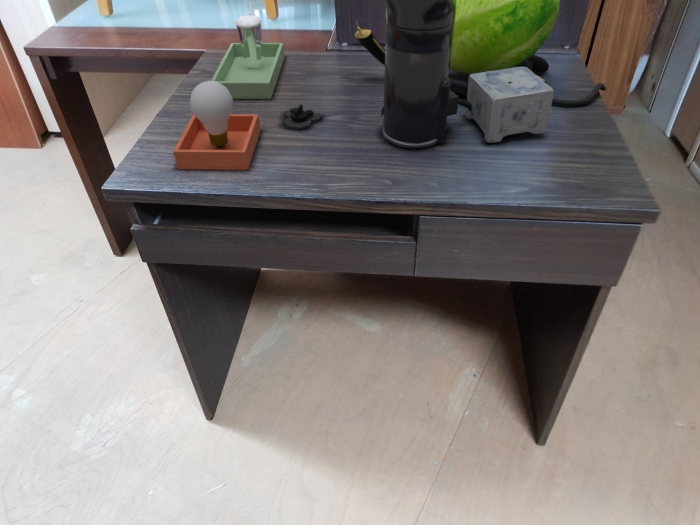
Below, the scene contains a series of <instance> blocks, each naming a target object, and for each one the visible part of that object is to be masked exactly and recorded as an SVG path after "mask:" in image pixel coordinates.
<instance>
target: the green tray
mask: <svg viewBox="0 0 700 525" xmlns="http://www.w3.org/2000/svg"><path fill="white" fill-rule="evenodd" d="M284 48H285V47H284V43H283V42H262V55H263V65H262V67H260V68H258V69H249V68H247V67H246V66H245V61H244V57H243V52H242V47H241V43H240V42H230V44H229V46H228V48H227V50H226V52H225V53H224V56H223V58H222V59H221V61H220V63H219V65H218V66H217V68H216V71H215V72H214V74H213V76H212V78H211V80H210V81H215V82H218V83H220V84H222V85H223V86H225V87H226V88H227V89H228V91H229V92H230V94H231V96H232V100H271V99H272V98H273V94H274V91H275V88H276V85H277V82H278V79H279V76H280V73H281V70H282V67H283V64H284V61H285V49H284Z"/></svg>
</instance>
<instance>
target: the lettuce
mask: <svg viewBox="0 0 700 525" xmlns="http://www.w3.org/2000/svg"><path fill="white" fill-rule="evenodd" d="M456 1H457V7H456V16H455V25H454V34H453V42H452V52H451V61H450V70H451V71H453V72H456V73H458V74H462V75H465V76H469V75H471V74H476V73H482V72H488V71H496V70H503V69H508V68H513V67H515V66H516V65H518V64H519V63H521V62H523V61H524V60H526V59H528V58H529V57H531V56H533V55H536V53H537V52H538V51H539V50H540V48H542V46H543V45H544V44H545V42H546V41H547V40H548V39H549V37H550V36H551V34H552V31H553V29H554V27H555V25H556V22H557V19H558V17H559V15H560V3H561V0H456Z"/></svg>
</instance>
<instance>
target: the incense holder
mask: <svg viewBox="0 0 700 525" xmlns="http://www.w3.org/2000/svg"><path fill="white" fill-rule="evenodd" d="M541 77H542V76H541ZM541 77H539V76H537V75H535V74H534V73H533V72H532V71H530V70H529V69H528V68H527V67H514V68H508V69H503V70H496V71H488V72H482V73H476V74H471V75H468V78H467V79H468V93H467V95H466V101H468V102H469V103H471V105H472V110H471V112H470V111H469V109H468V108H466V114H465V117H466V119H467V120H474V121H475V123H476V124H477V125H478V127H479V128H480V129H481V130H482V132H483V133H484V141H485V142H486V143H491V144H492V143H493V144H494V143H500V142H501V141H502V140H503V138H504V137H506V136H511V135H516V134H523V133H531V134H534V135H538V134H543V133H546V132H547V130H548V126H549V119H550V115H551V108H552V105H553V104H552V100H553V98H554V94H555V91H554V88H553V87H552V86H550V85H549V84H546V83H544V82H545V81H546V80H545V78H543V77H542V78H541Z"/></svg>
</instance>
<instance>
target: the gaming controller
mask: <svg viewBox="0 0 700 525" xmlns="http://www.w3.org/2000/svg"><path fill="white" fill-rule="evenodd" d="M515 67H527V68H528V69H529V70H530V71H532V72H533V73H534V74H535V75H537V76H539V77H541V78H543V77H542V76H541V75H540V74H545V73H546V72H547V71H548V70H549V68H550V64H549V62H547V60H546V59H545V58H543V57H541V56H539V55H536V54H534V55H533V56H531V57H529V58H528V59H526V60H524V61H523V62H521V63H519V64H518V65H516V66H515ZM513 68H514V67H513ZM538 73H540V74H538ZM544 83H546V84H548V82H547V81H546V80H545V82H544ZM548 85H549V84H548Z"/></svg>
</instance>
